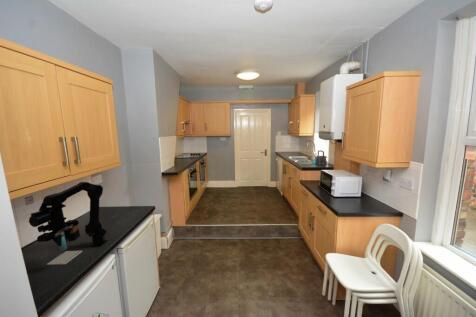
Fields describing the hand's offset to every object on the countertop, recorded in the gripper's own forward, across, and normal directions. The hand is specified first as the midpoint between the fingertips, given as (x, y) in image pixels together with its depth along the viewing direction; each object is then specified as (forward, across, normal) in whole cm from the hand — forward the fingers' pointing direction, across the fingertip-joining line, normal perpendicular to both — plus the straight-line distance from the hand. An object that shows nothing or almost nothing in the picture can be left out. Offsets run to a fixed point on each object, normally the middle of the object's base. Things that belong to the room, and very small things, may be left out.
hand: (62, 244), depth 110 cm
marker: (+3, 0, 0) cm, 3 cm away
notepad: (+13, -7, -8) cm, 17 cm away
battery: (+13, -29, -22) cm, 39 cm away
